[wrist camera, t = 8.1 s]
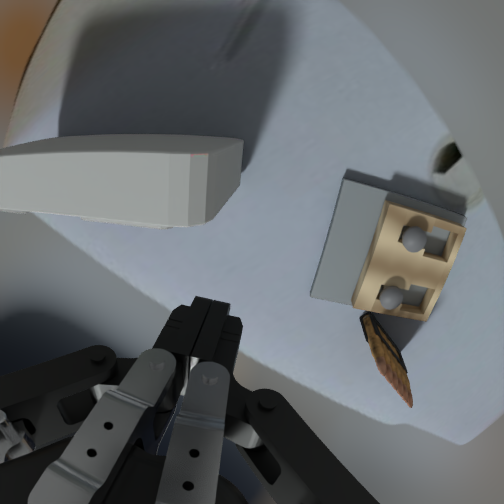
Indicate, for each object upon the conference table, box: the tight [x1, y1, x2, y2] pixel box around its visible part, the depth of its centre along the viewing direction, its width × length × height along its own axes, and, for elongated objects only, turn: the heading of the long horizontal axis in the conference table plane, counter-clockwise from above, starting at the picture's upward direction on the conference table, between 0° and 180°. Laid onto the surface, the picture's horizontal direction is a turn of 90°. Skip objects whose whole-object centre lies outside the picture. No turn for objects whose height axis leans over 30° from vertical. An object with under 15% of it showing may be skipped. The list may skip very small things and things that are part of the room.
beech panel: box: [351, 200, 466, 321], centre depth 37 cm, size 14×12×2 cm
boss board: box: [310, 178, 467, 310], centre depth 37 cm, size 16×18×5 cm
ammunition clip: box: [360, 311, 413, 408], centre depth 39 cm, size 11×2×12 cm, turn 42°
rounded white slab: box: [0, 134, 244, 229], centre depth 30 cm, size 29×8×18 cm, turn 85°
